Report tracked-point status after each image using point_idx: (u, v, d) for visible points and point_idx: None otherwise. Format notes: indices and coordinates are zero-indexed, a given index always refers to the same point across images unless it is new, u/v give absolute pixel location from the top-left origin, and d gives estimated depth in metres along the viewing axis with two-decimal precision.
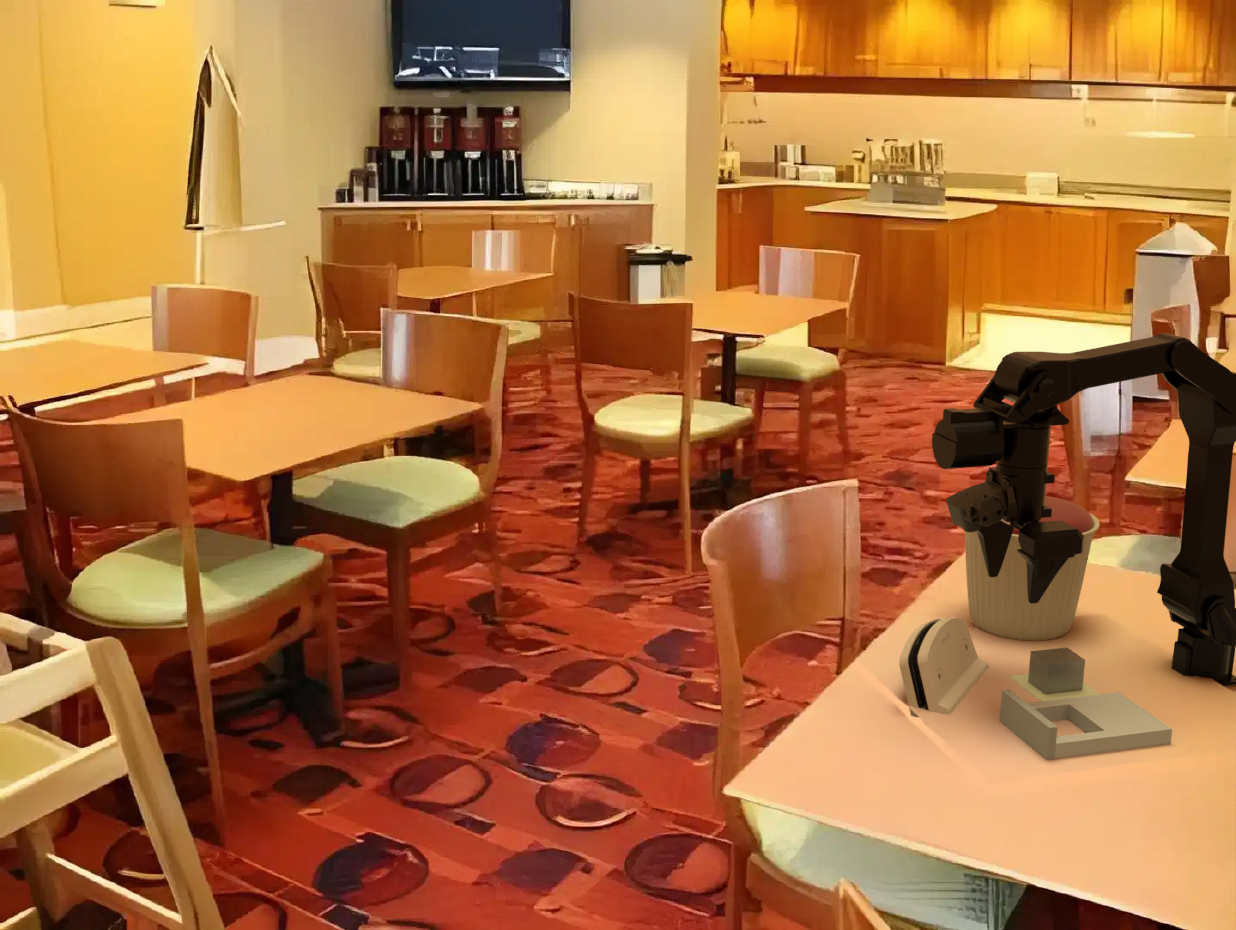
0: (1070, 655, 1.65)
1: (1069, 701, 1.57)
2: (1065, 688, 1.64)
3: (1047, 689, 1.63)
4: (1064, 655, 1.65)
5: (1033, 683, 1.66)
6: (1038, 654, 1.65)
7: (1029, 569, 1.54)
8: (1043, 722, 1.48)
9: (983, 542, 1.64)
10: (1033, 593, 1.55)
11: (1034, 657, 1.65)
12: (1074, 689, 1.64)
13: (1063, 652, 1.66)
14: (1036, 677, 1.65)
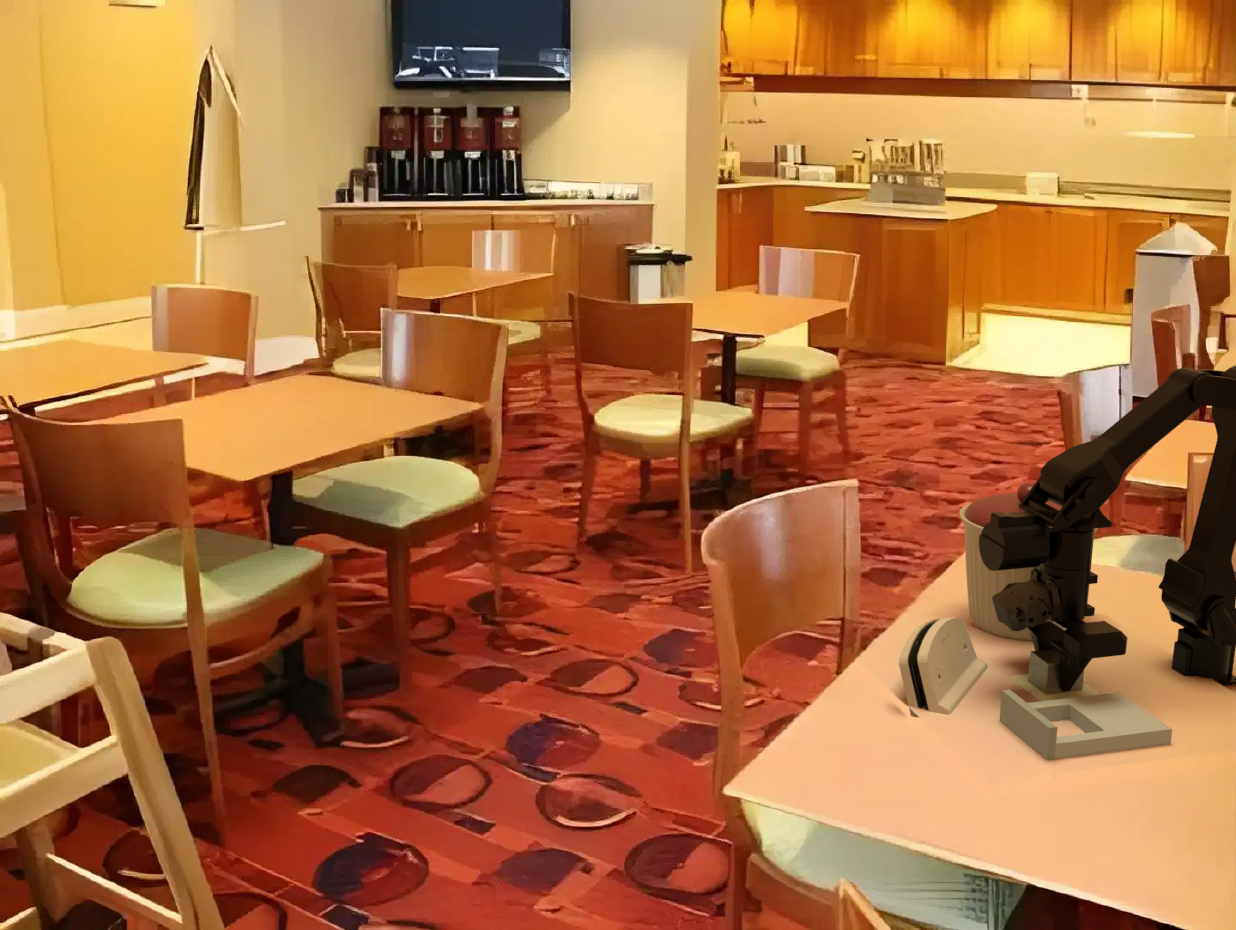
0: None
1: (1069, 701, 1.57)
2: None
3: (1047, 689, 1.63)
4: None
5: (1033, 683, 1.66)
6: (1038, 654, 1.65)
7: (1062, 660, 1.61)
8: (1043, 722, 1.48)
9: (1036, 643, 1.67)
10: (1065, 682, 1.63)
11: (1034, 657, 1.65)
12: (1074, 689, 1.64)
13: None
14: (1036, 677, 1.65)
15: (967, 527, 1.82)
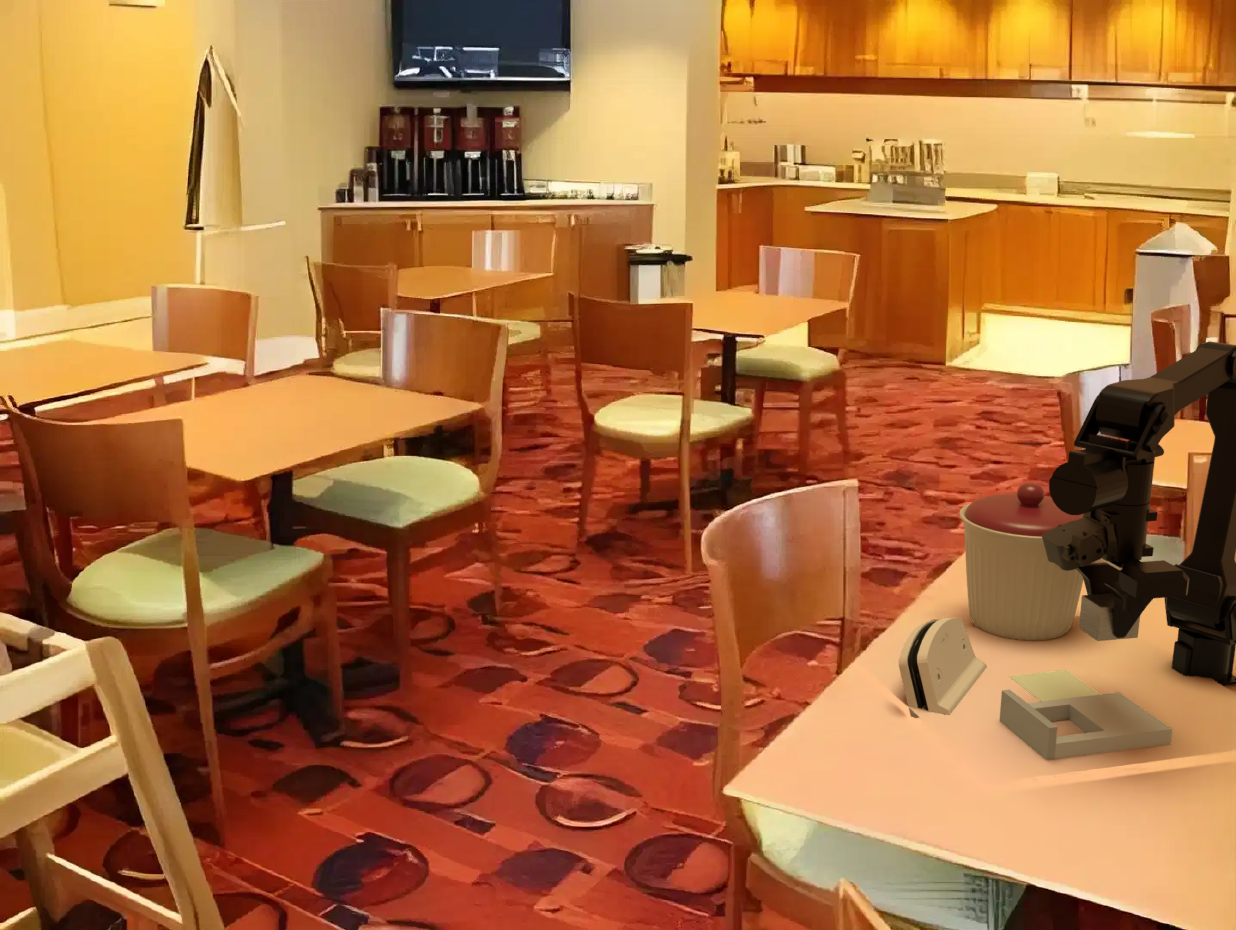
0: None
1: (1069, 701, 1.57)
2: None
3: (1100, 635, 1.52)
4: None
5: (1084, 629, 1.54)
6: (1090, 598, 1.54)
7: (1117, 603, 1.50)
8: (1043, 722, 1.48)
9: (1089, 587, 1.55)
10: (1120, 627, 1.51)
11: (1085, 601, 1.54)
12: (1129, 636, 1.53)
13: None
14: (1088, 623, 1.54)
15: (967, 527, 1.82)
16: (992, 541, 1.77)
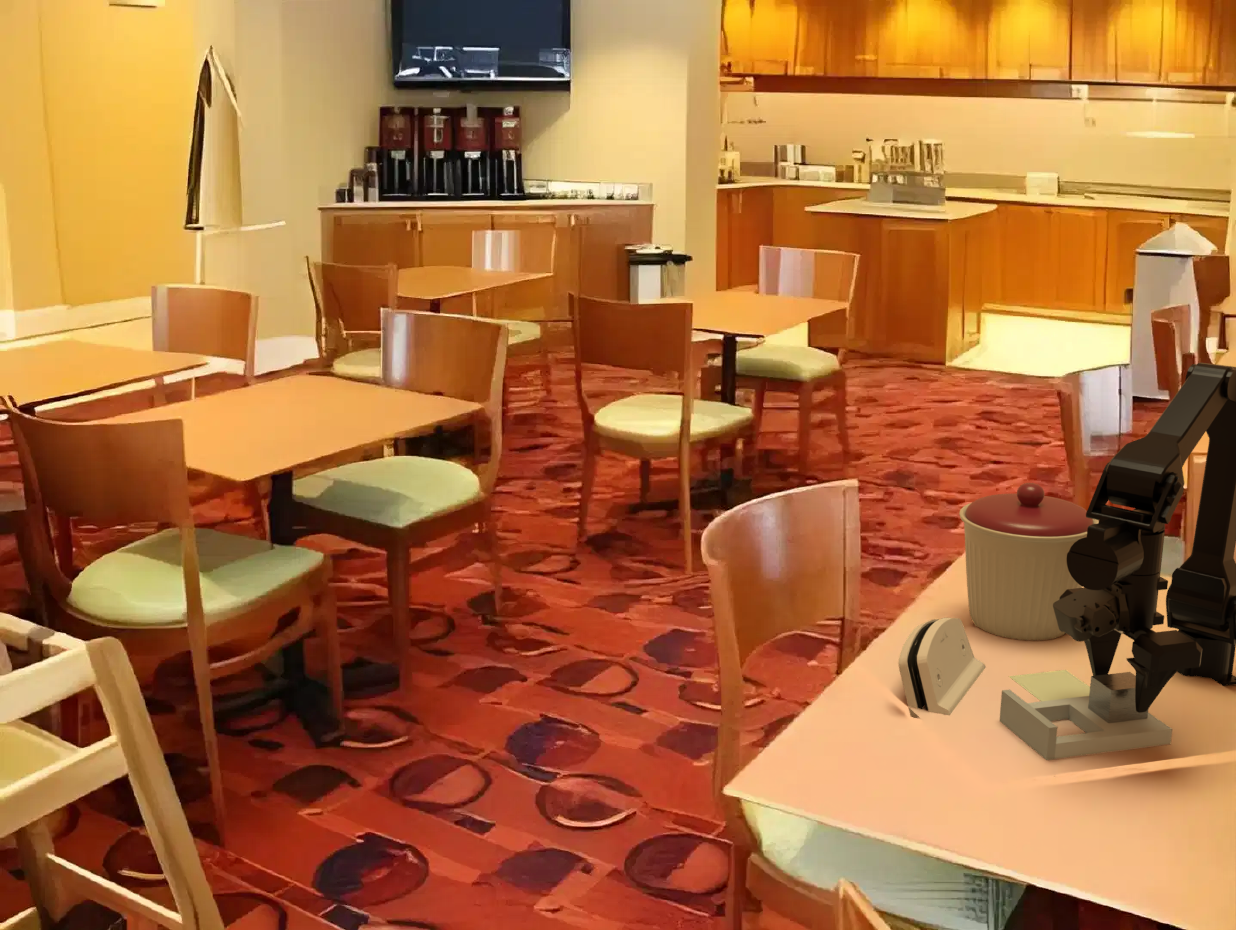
0: (1134, 681, 1.53)
1: (1069, 701, 1.57)
2: (1129, 716, 1.52)
3: (1110, 718, 1.52)
4: (1128, 680, 1.53)
5: (1094, 710, 1.54)
6: (1100, 679, 1.54)
7: (1138, 678, 1.48)
8: (1043, 722, 1.48)
9: (1090, 647, 1.56)
10: (1142, 702, 1.49)
11: (1095, 682, 1.54)
12: (1139, 717, 1.53)
13: (1127, 677, 1.54)
14: (1097, 704, 1.54)
15: (967, 527, 1.82)
16: (992, 541, 1.77)
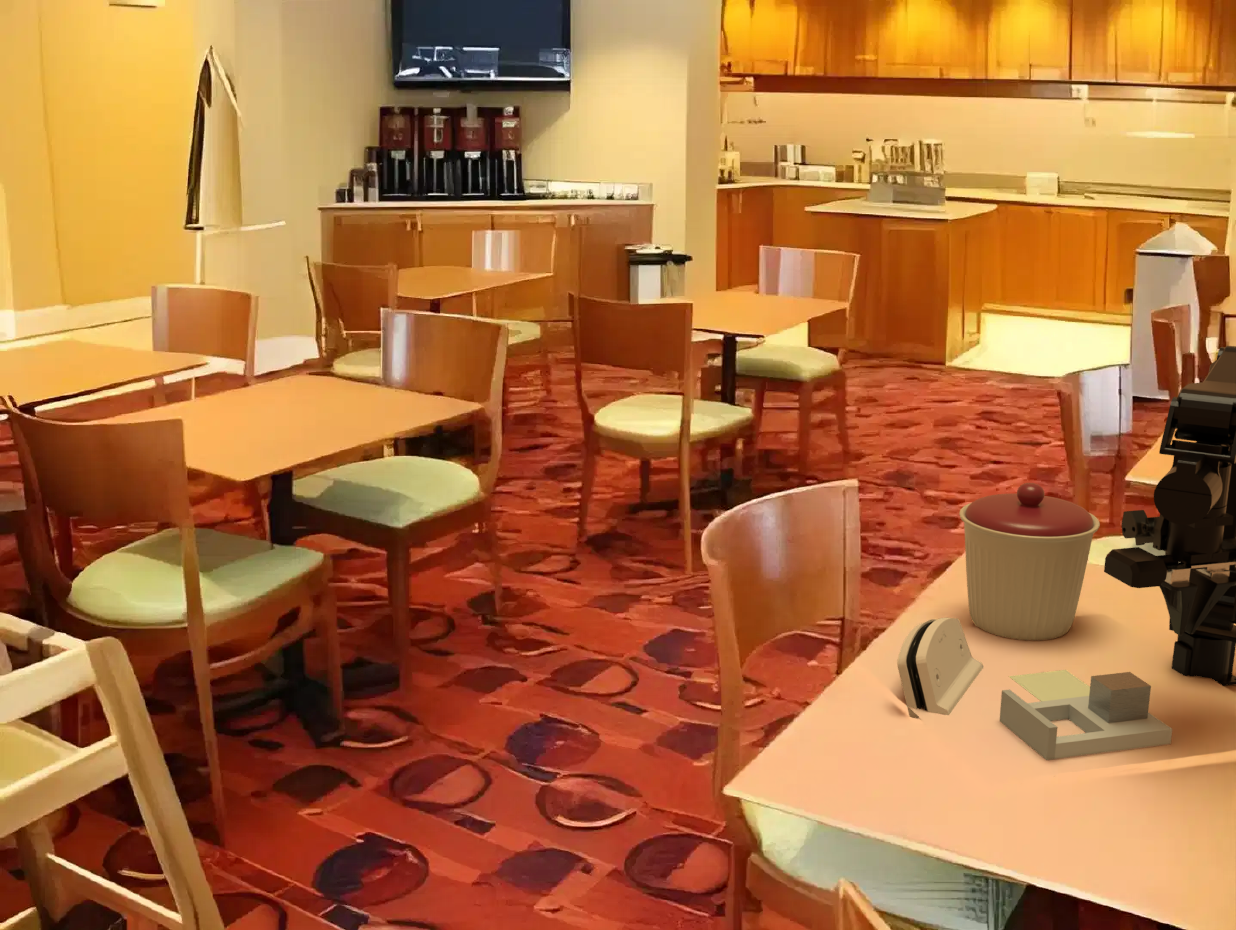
0: (1134, 681, 1.53)
1: (1069, 701, 1.57)
2: (1129, 716, 1.52)
3: (1110, 718, 1.52)
4: (1128, 680, 1.53)
5: (1094, 710, 1.54)
6: (1100, 679, 1.54)
7: None
8: (1043, 722, 1.48)
9: None
10: (1172, 621, 1.53)
11: (1095, 682, 1.54)
12: (1139, 717, 1.53)
13: (1127, 677, 1.54)
14: (1097, 704, 1.54)
15: (967, 527, 1.82)
16: (992, 541, 1.77)
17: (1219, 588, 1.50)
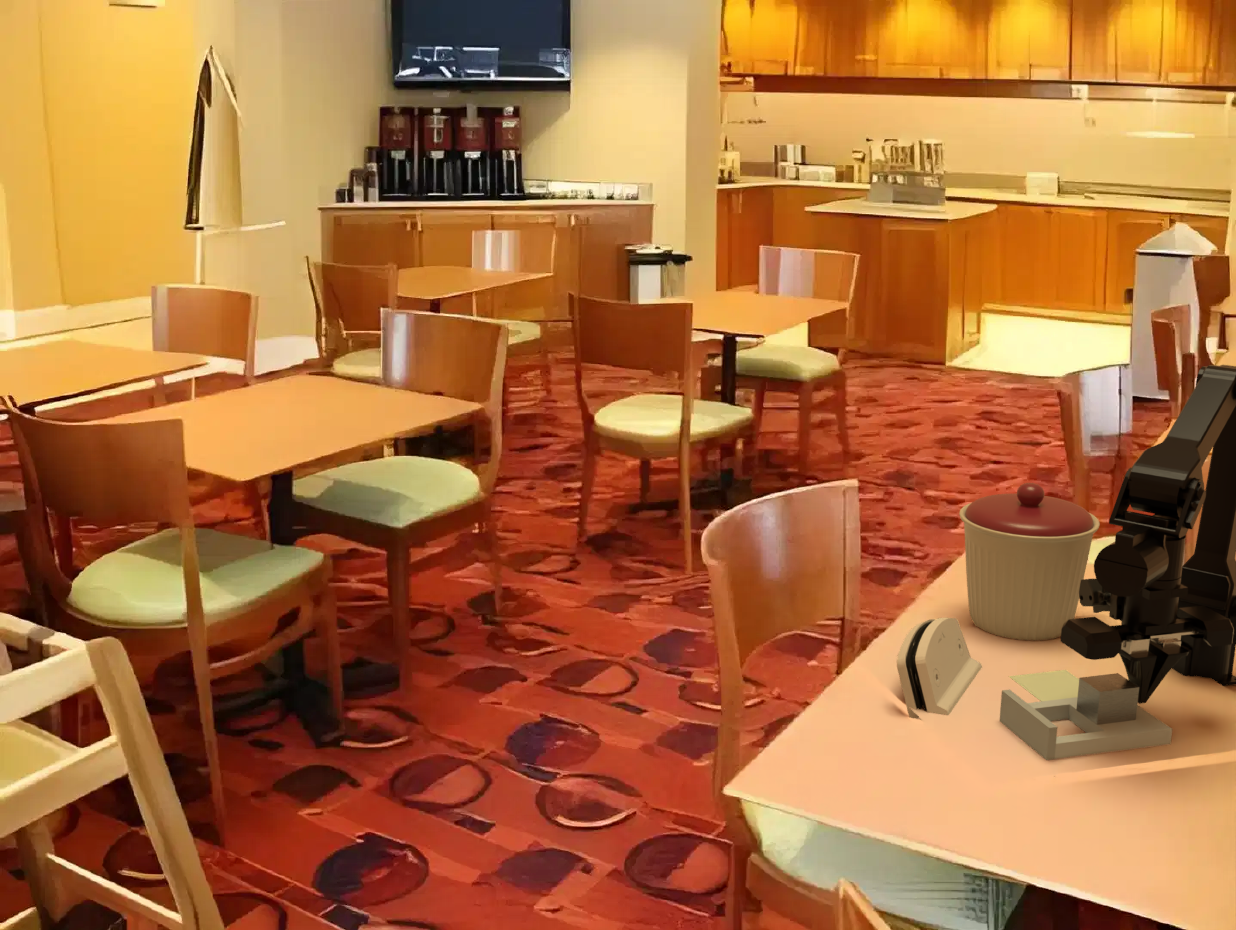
0: (1122, 682, 1.53)
1: (1069, 701, 1.57)
2: (1117, 718, 1.52)
3: (1099, 719, 1.51)
4: (1116, 681, 1.53)
5: (1082, 712, 1.54)
6: (1088, 681, 1.53)
7: None
8: (1043, 722, 1.48)
9: None
10: None
11: (1083, 683, 1.53)
12: (1127, 719, 1.52)
13: (1115, 679, 1.54)
14: (1086, 706, 1.53)
15: (967, 527, 1.82)
16: (992, 541, 1.77)
17: (1170, 659, 1.51)
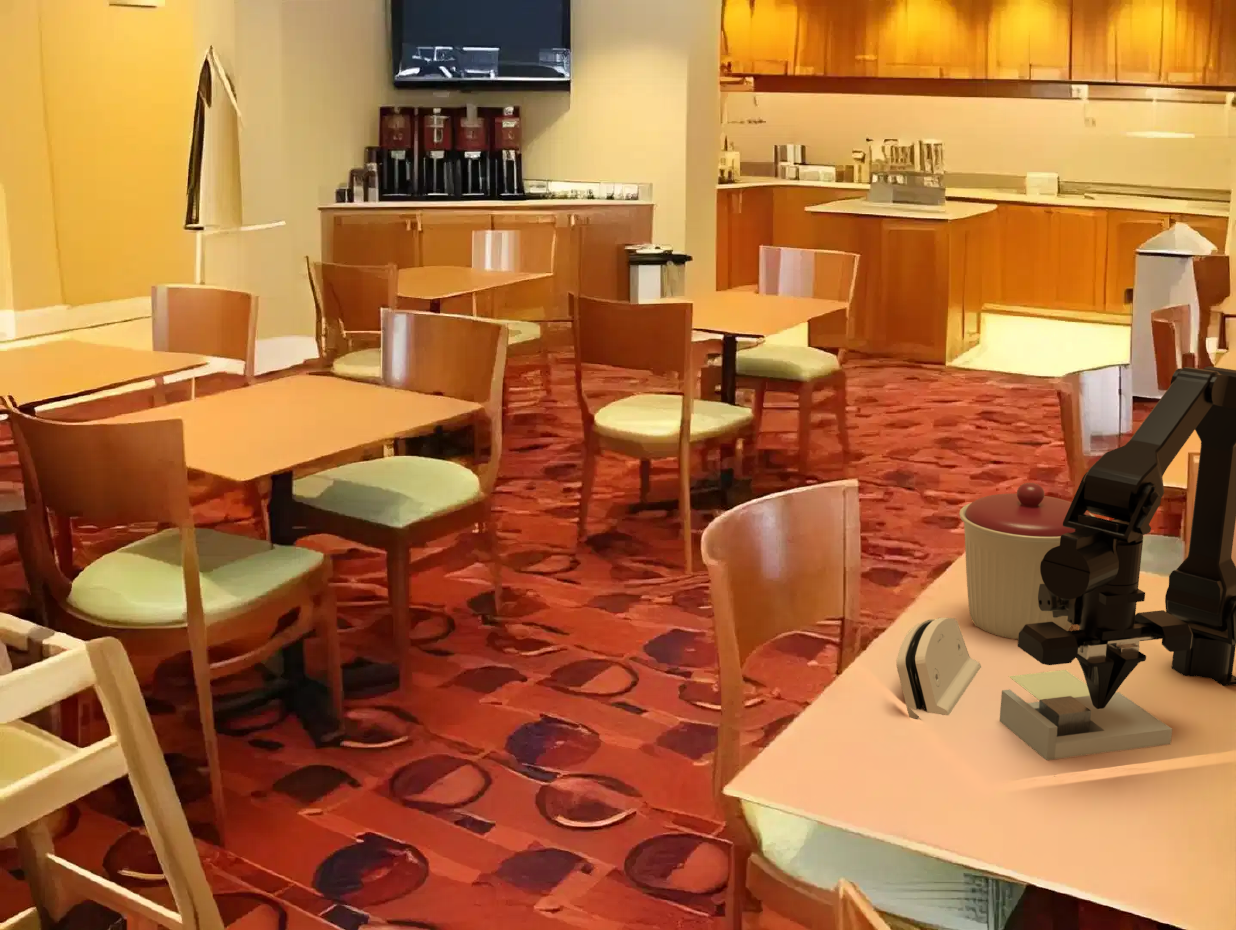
0: (1050, 716, 1.51)
1: None
2: (1085, 730, 1.51)
3: None
4: None
5: None
6: None
7: None
8: (1043, 722, 1.48)
9: None
10: (1091, 695, 1.53)
11: None
12: (1088, 719, 1.51)
13: (1045, 715, 1.52)
14: None
15: (967, 527, 1.82)
16: (992, 541, 1.77)
17: (1127, 664, 1.49)
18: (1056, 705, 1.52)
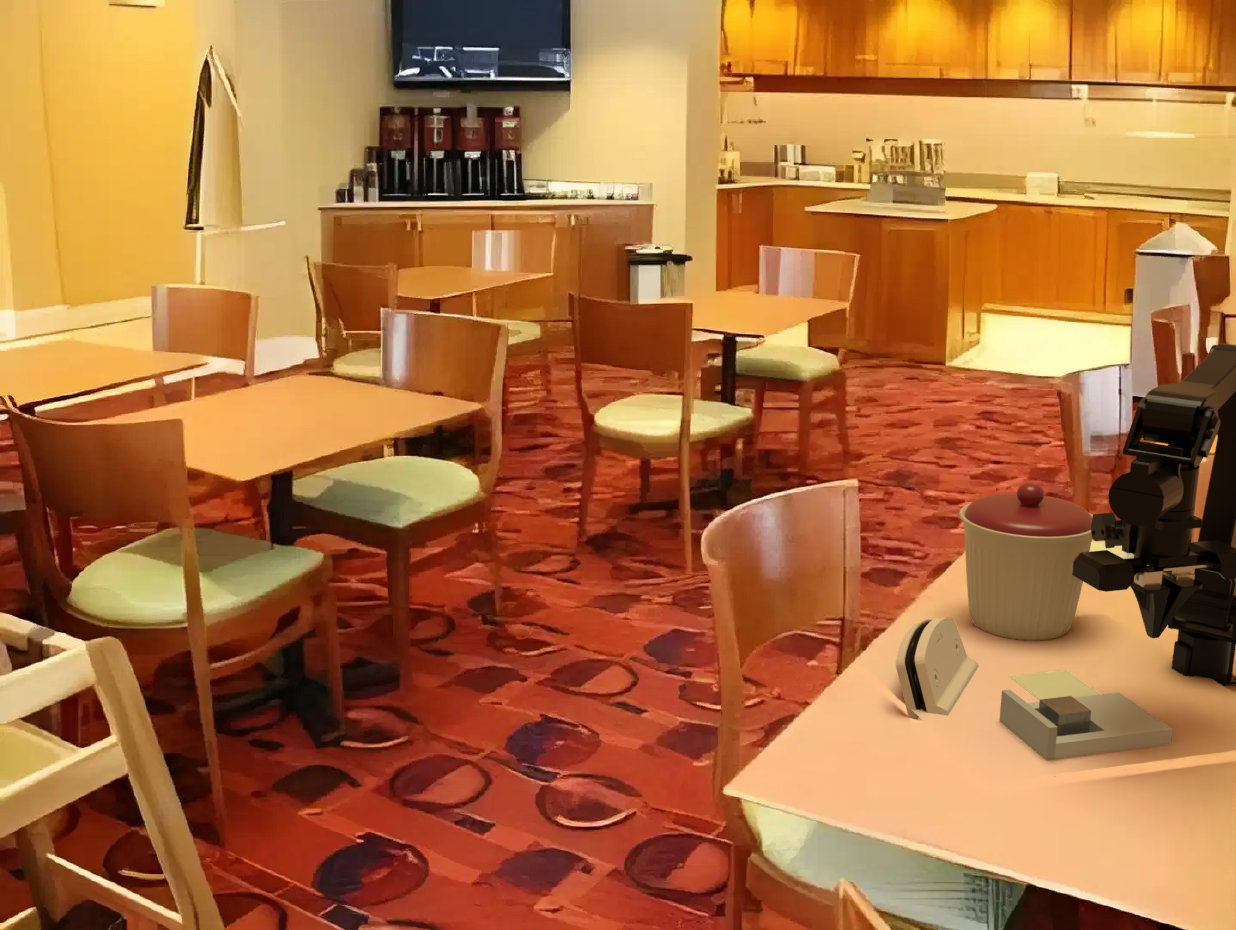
0: (1050, 716, 1.51)
1: None
2: (1085, 730, 1.51)
3: None
4: None
5: None
6: None
7: None
8: (1043, 722, 1.48)
9: None
10: (1145, 624, 1.53)
11: None
12: (1088, 719, 1.51)
13: (1045, 715, 1.52)
14: None
15: (967, 527, 1.82)
16: (992, 541, 1.77)
17: (1183, 592, 1.49)
18: (1056, 705, 1.52)
